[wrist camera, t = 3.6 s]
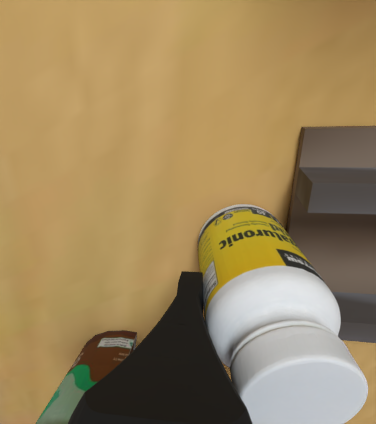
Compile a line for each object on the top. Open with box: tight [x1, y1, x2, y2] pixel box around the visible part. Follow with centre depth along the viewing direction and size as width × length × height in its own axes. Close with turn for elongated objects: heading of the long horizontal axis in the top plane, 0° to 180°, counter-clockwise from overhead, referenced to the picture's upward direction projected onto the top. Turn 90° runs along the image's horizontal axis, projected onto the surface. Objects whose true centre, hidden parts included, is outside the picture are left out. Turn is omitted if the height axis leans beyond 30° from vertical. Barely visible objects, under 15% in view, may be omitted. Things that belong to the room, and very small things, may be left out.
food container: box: [36, 331, 137, 424], centre depth 20 cm, size 12×6×10 cm, turn 171°
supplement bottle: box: [198, 204, 368, 424], centre depth 12 cm, size 5×5×10 cm
